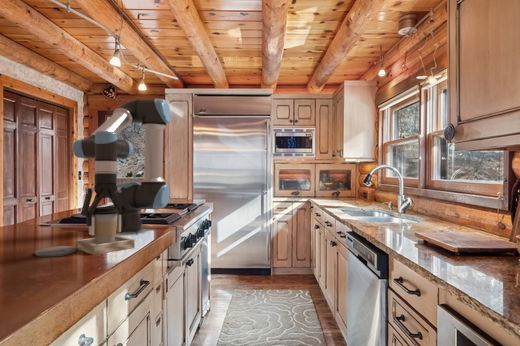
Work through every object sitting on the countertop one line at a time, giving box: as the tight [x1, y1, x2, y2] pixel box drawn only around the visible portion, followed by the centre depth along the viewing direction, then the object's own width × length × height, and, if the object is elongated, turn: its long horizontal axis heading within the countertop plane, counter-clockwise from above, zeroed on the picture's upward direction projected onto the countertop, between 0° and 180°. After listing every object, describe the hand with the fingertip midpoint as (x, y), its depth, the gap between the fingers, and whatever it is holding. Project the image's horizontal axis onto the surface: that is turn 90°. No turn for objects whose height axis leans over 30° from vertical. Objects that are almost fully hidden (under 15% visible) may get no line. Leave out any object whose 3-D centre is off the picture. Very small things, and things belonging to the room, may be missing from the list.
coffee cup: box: [92, 206, 119, 245], centre depth 129 cm, size 9×9×15 cm
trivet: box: [35, 245, 77, 258], centre depth 121 cm, size 12×12×1 cm
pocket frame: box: [75, 234, 136, 256], centre depth 129 cm, size 15×15×3 cm
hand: (105, 233), depth 129 cm, fingers closed on coffee cup, 9 cm apart
